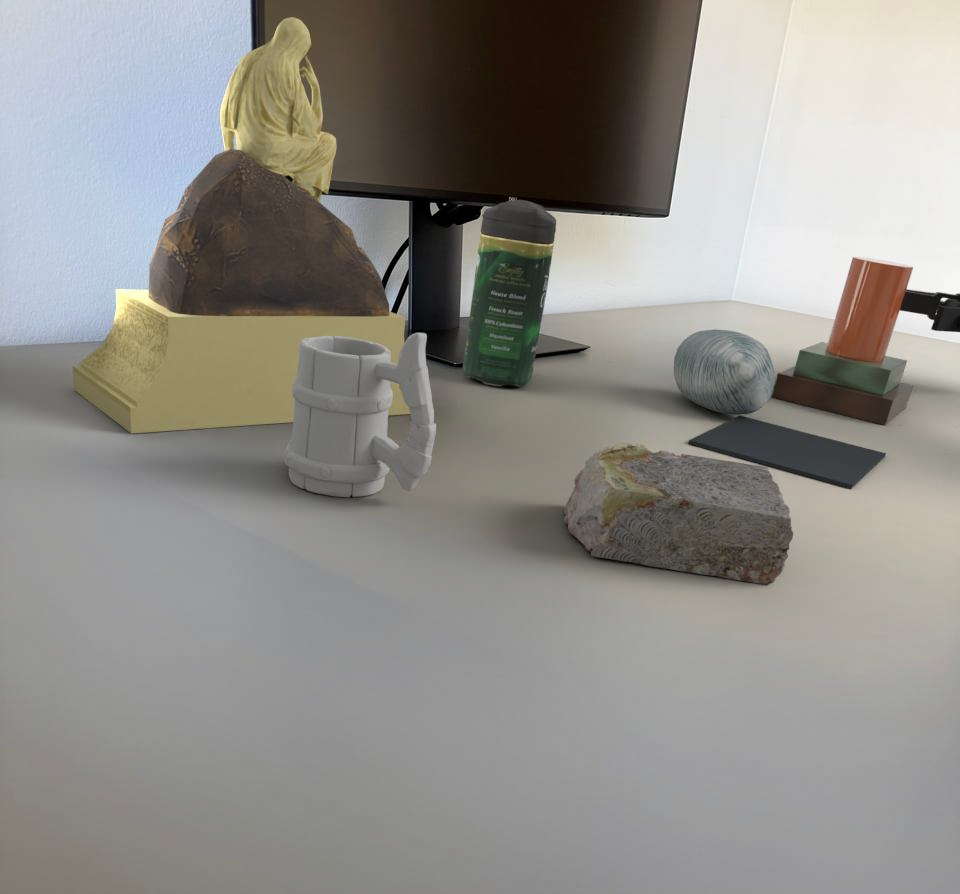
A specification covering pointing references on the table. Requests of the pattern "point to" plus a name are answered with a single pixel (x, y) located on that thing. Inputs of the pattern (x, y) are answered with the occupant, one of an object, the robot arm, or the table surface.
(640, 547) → the geological specimen
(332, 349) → the mug
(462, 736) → the table surface
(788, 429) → the mat
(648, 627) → the table surface
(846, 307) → the canister
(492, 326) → the coffee jar
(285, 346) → the hooded thinker statue
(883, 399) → the stack
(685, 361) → the grey streaked ovoid
